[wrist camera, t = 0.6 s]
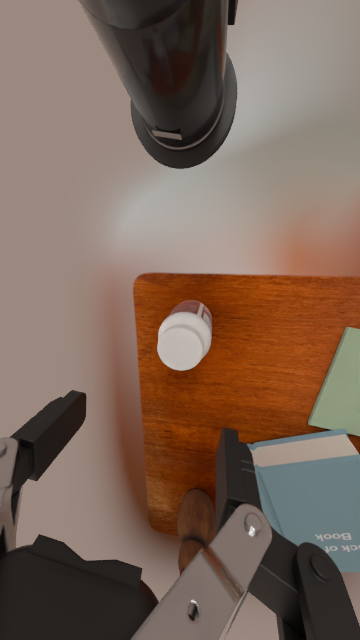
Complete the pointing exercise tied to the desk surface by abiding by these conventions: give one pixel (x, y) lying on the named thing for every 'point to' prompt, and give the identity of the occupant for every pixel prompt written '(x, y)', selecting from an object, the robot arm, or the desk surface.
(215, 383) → the desk surface
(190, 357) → the pill bottle
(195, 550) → the wooden figurine
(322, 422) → the mat
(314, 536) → the book
